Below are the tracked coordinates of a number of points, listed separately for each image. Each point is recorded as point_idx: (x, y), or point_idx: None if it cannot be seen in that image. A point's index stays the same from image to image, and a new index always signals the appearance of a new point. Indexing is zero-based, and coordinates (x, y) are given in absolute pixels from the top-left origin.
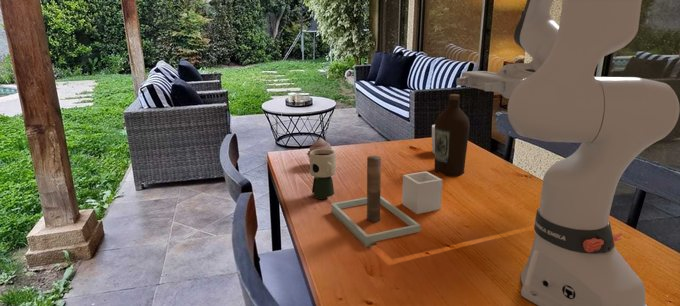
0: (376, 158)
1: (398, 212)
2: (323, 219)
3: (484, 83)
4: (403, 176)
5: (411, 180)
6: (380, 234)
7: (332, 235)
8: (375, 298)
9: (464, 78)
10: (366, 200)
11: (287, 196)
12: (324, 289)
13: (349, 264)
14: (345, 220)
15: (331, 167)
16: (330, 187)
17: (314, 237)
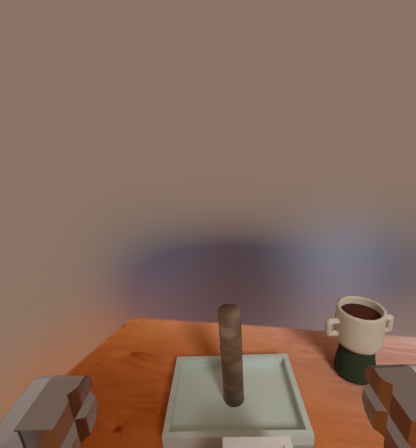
0: (224, 311)
1: (226, 431)
2: (267, 351)
3: (62, 377)
4: (287, 438)
5: (251, 437)
6: (174, 373)
7: None
8: (103, 344)
9: (407, 406)
10: (298, 407)
11: None
12: (141, 321)
13: (159, 344)
14: None
15: (326, 325)
16: (343, 362)
17: None
